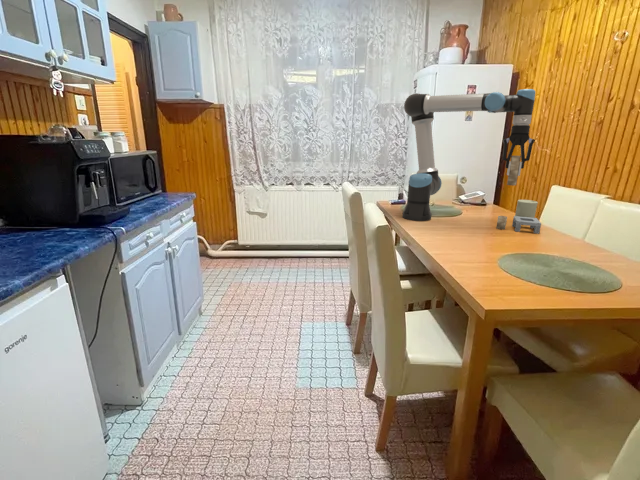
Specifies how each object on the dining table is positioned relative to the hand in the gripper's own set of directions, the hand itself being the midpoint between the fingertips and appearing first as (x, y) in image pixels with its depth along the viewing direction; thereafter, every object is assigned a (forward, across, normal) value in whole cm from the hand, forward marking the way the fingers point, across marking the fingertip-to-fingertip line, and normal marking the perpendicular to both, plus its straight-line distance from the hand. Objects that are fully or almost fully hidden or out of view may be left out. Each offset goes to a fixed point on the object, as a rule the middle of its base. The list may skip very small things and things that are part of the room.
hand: (513, 175), depth 170 cm
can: (+26, +10, +10) cm, 29 cm away
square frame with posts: (+25, +8, -5) cm, 27 cm away
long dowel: (+5, 0, 0) cm, 5 cm away
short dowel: (+25, -3, -8) cm, 27 cm away
